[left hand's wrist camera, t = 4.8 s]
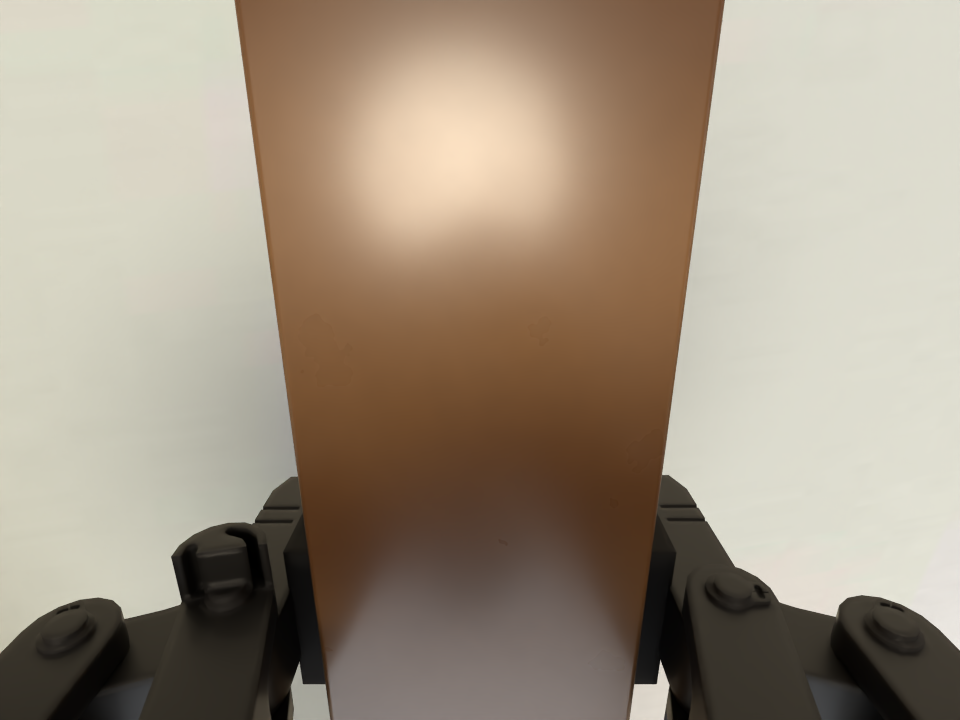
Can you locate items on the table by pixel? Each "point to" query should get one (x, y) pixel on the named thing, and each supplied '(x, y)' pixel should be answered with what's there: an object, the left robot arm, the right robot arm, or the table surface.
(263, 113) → the bar
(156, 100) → the table surface
